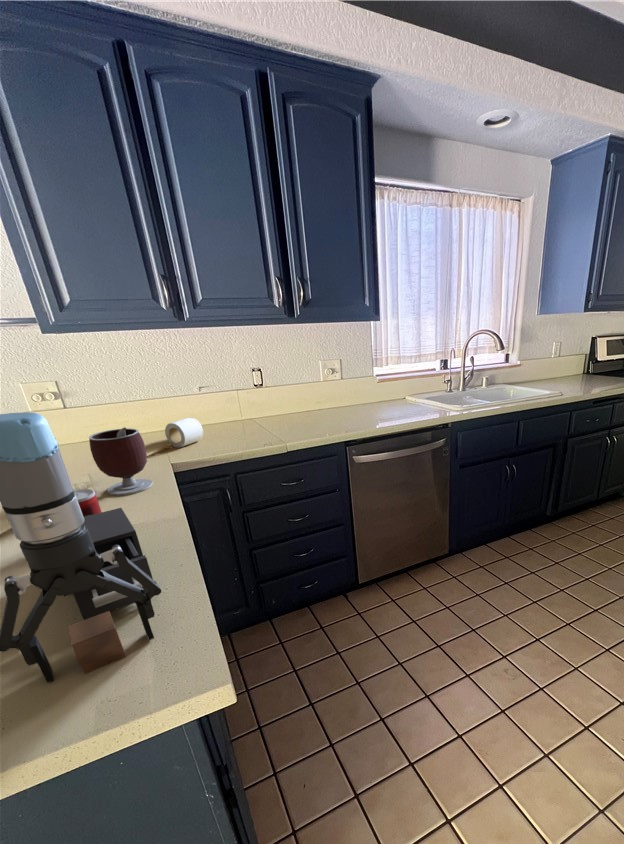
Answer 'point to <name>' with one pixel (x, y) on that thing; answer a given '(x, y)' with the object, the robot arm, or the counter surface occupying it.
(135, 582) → the drawer
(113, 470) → the mate gourd
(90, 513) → the canned food
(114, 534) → the cabinet
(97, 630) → the block
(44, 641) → the counter surface
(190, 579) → the counter surface
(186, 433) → the toilet paper
